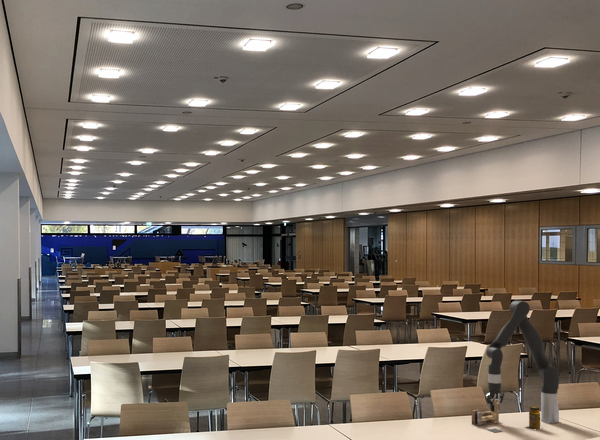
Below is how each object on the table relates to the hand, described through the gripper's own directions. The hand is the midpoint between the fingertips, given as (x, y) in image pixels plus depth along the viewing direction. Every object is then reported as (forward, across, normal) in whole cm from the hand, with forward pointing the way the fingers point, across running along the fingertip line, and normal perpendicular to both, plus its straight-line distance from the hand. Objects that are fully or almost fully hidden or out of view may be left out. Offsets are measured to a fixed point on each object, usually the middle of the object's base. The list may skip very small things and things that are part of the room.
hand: (494, 410), depth 373 cm
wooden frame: (+7, +6, 0) cm, 9 cm away
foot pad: (+7, +12, +12) cm, 18 cm away
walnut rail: (+7, +5, -3) cm, 9 cm away
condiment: (+7, -12, +18) cm, 23 cm away
